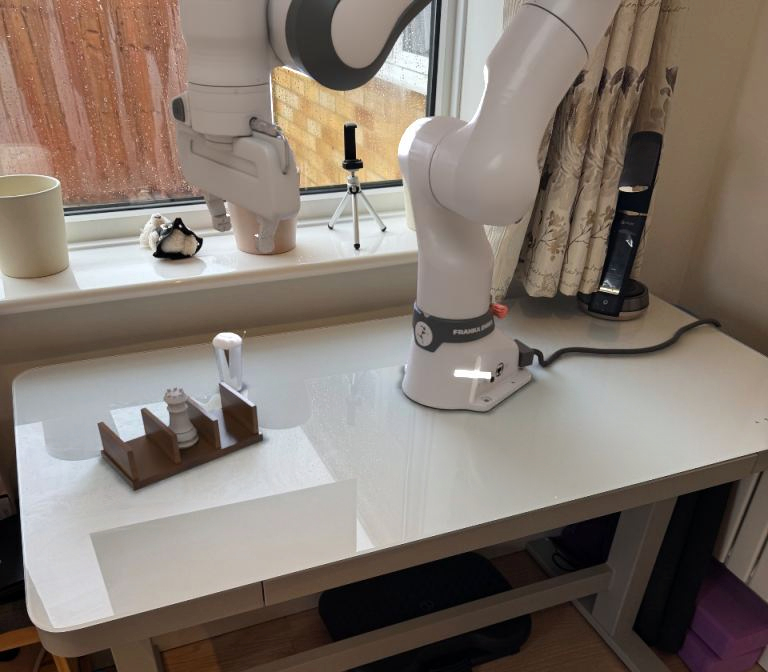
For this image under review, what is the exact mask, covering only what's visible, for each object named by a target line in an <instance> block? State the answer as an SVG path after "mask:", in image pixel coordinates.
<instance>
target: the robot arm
mask: <svg viewBox="0 0 768 672" xmlns="http://www.w3.org/2000/svg"><path fill="white" fill-rule="evenodd" d="M433 1H434V0H177V8H178V19H179V29H180V34H181V37H182V40H183V41H184V44H185V48H186V54H187V55H186V56H187V66H186V72H185V78H186V87H187V90H185V91H183V92H182V93H180V94H178V95H176V96H173V97H171V98H170V99H169V101H168V105H169V113H170V117H171V119H172V120H174V121H175V122H176V124H175V139H176V148H177V154H178V159H179V165H180V170H181V172H182V175H183V177H184V180H185V181H186V183H187V184H188V185H190V186H192V187H195V188H197V189H199V190H201V191H202V192H203V193H202V194H203V199H204V202H205V204H206V206H207V209H208V212H209V214H210V215H211V222H212V223H211V224H212V228H213V230H216V231H217V232H220V233H224V232H230V231H231V229H232V223H231V221H232V220H231V215H230V214H228V213H227V209H226V206H225V202H224V201H226V202H229V203H230V204H233V205H235V206H238V207H239V208H242V209H244V210H247V211H249V212H251V213H254V214H256V215H255V217H256V222H257V223H258V224H259V227H258V231H257V234H254V235H253V241H254V248H255V250H256V251H258V252H260V253H262V254H268V253H273V252H274V250H275V235H276V232H277V230H278V227H279V224H280V221H284V220H289V219H293V218H296V217H297V216H298V214H299V212H300V210H301V193H300V184H299V183H300V182H299V175H298V174H299V173H298V170H297V169H298V168H297V162H296V157H295V154H294V150H293V148H292V146H291V145H290V141H289V139H287V137H286V135H285V134H284V132H283V130H282V127H281V126H280V125H278V124H277V123H274V113H273V112H274V111H273V94H272V77H271V76H272V72H273V70H274V69H275V68H279V67H280V68H281V67H282V68H284V69H287V70H290V71H292V72H293V73H296V74H299V75H302V76H304V77H308V79H311V80H312V81H314V82H316V83H318V84H319V85H320V86H323V87H324V88H326V89H328V90H332V91H336V92H348V91H353V90H356V89H358V88H360V87H362V86H365V85H366V84H367V83H369V82H370V81H371V80H372V79H374V77H375V76H376V75H377V74H378V73H379V71H380V70H381V69H382V67H383V66H384V64H385V63H386V62H387V60H388V58H389V55H390V54H391V52H392V50H393V49H394V46H395V45H396V43H397V41H398V39H399V38H400V37H401V35H402V33H403V32H404V31H405V29H406V28H407V27H408V26H409V25H410V23H411V22H413V20H414V19H415V18H416V17H417V16H419V14H420V13H421V12H422V11H423V10H425V9H426V7H428V6H429V5H430V4H431V3H432V2H433ZM621 2H622V0H523V2H522V4H521V5H520V7H519V8H518V10H517V12H516V13H515V14H514V16H513V17H512V19H511V21H510V22H509V24H508V25H507V27H506V28H505V29H504V31H503V32H502V34H501V36H500V37H499V39H498V40H497V42H496V43H495V45H494V47H493V48H492V49H491V51H490V53H489V54H488V56H487V57H486V60H485V61H484V62H485V63H484V66H483V79H484V83H485V86H484V90H483V94H482V96H481V100H480V103H479V105H478V107H477V110H476V112H475V114H474V116H473V117H472V118H471V120H470V121H466V120H462V119H460V118H458V117H454V116H451V115H433V116H425V117H422V118H419V119H417V120H415V121H414V122H413V123H412V124H410V125H409V126H408V128H406V130H405V132H404V133H403V135H402V137H401V139H400V142H399V145H398V149H397V161H398V163H397V164H398V167H399V170H400V172H401V174H402V176H403V178H404V181H405V184H406V187H407V190H408V194H409V199H410V200H409V201H410V206H411V210H412V216H413V222H414V229H415V235H416V243H417V258H418V262H417V284H416V285H417V287H416V299H415V300H414V303H413V309H412V321H411V322H412V323H411V325H412V333H411V340H410V346H409V352H408V358H407V362H405V363H404V369H403V370H404V376H403V379H402V382H401V389H402V391H403V393H404V394H405V395H406V396H407V397H408V398H409V399H411V400H412V401H414V402H416V403H417V404H420V405H423V406H427V407H430V408H434V409H440V410H469V411H475V412H487V411H490V410H491V409H492V408H494V407H495V406H497V405H498V404H500V403H501V402H503V401H504V400H505V399H507V398H508V397H509V396H511V395H512V394H514V393H515V392H516V391H518V390H519V389H520V388H522V387H524V386H525V385H526V384H527V383H529V382H531V380H532V373H531V372H530V370H529V368H527V367H528V366H529V367H530V366H533V363H534V357H535V356H536V357H537V362H538V364H539V366H541V367H548V366H549V365H551V364H552V363H554V361H555V360H556V359H558V358H559V357H560V356H562V355H564V354H571V353H573V354H574V353H579V354H581V353H582V354H592V355H640V354H641V355H642V354H647V353H653V352H657V351H661V350H664V349H665V348H668V347H670V346H671V345H673V344H674V343H676V342H677V341H678V340H679V339H680V337H681V335H682V334H683V333H685V332H688V331H690V330H692V329H694V328H697V327H700V326H703V325H708V324H711V325H713V326H714V327H715V328H722V327H723V326H722V324H721V322H720V321H719V320H717V319H716V318H712V317H710V318H709V317H707V318H702V319H697V320H696V321H693V322H690V323H688V324H685V325H684V326H681V327H680V328H679V329H677V330H676V331H675V333H674V334H673V336H672V337H671V338H669V339H667V340H665V341H663V342H661V343H657V344H656V345H651V346H645V347H638V348H597V347H586V346H568V347H562V348H560V349H558V350H556V351H554V352H553V353H552V354H551V355H550V356H549V357H548V358H547V359H546V360H545V357H544V353H543V352H542V351H541V349H538V348H533V347H530V346H528V345H526V344H525V343H523V342H522V341H520V340H519V339H518V338H515V339H513V338H512V337H511V336H510V335H508V334H507V333H505V331H503V330H502V329H500V328H499V327H498V325H496V323H495V317H496V318H498V319H499V320H503V319H505V318H506V317H507V315H508V312H509V310H508V307H507V306H506V305H503V304H500V303H498V302H495V303H494V304H491V303H490V302H491V292H492V284H493V276H494V267H495V255H494V250H493V248H492V245H491V243H490V241H489V239H488V235H487V232H486V229H485V226H488V227H489V226H490V227H491V226H492V227H498V228H499V227H507V226H508V227H509V226H511V225H513V224H515V223H517V222H518V221H520V220H521V219H523V217H525V216H526V214H528V212H529V210H531V208H532V206H533V204H534V203H535V200H536V198H537V195H538V193H539V192H538V191H539V187H540V169H539V165H538V159H539V152H540V148H541V144H542V142H543V138H544V135H545V133H546V130H547V127H548V125H549V123H550V121H551V119H552V117H553V115H554V113H555V112H556V110H557V108H558V107H559V105H560V103H562V101H563V99H564V97H565V96H566V94H567V93H568V91H569V90H570V88H571V87H572V85H573V84H574V82H575V81H576V79H577V77H578V76H579V74H580V73H581V72H582V70H583V69H584V67H585V66H586V64H587V63H588V62H589V60H590V58H591V57H592V56H593V54H594V52H595V51H596V50H597V48H598V46H599V44H600V43H601V41H602V39H603V38H604V36H605V34H606V32H607V30H608V29H609V27H610V25H611V23H612V21H613V19H614V17H615V15H616V13H617V11H618V9H619V7H620V5H621Z"/></svg>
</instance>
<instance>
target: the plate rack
mask: <svg viewBox="0 0 768 672" xmlns="http://www.w3.org/2000/svg"><path fill="white" fill-rule="evenodd" d="M218 387H219V396H220V403H221V404H220V405H221V407H220V408H218V409H215V410H212V411H208V410H207V409H205V408H204V407H203V406H202V405H201V404H199V403H197V402H196V400H194V399H193V398H191V396H189V395H188V399H187V400H186V402H185V403H186V404H187V406H188V408H187V414H188V417H189V420H190V422H191V423H192V424H193V426H194V427H195V428H196V430H197V435H198V440H197V442H196V443H195V445H193V446H192V447H190V448H186V449H179V446H178V440H177V434H176V433H175V432H173V431H172V430H171V429H170V428H169V427H168V426H169V425H166V423H164V422H163V421H162V420H161V419H159V418H158V417H157V416H156V415H155V414H154V413H153V412H152V411H151V410H149V409H148V408H147V407H143V408H140V414H141V420H142V425H143V429H144V435H141V436H138V437H135V438H133V439H130V440H127V441H124V440H123V439H122V438H121V437H119V435H118V434H117V433H116V432H114V431H113V430H112V428H110V427H109V426H108V425H107V424H106V423H105V422H104V421H100V422H98V423H96V424H97V428H98V432H99V436H100V440H101V441H100V442H101V445H102V449H101V450H100V454H101V458H102V459H103V461H105V463H107V464H108V465H109V466H110V468H112V470H114V471H115V473H117V475H118V476H119V477H120V478H121V479H122V480H123V481H124V482H125V483H126V484H127V485H128V486H129V487H130V488H131V489H132V490H133V491H137V490H140V489H142V488H146V487H148V486H151V485H153V484H155V483H158V482H160V481H163V480H166V479H168V478H171V477H173V476H176V475H178V474H181V473H184V472H186V471H189V470H192V469H195V468H197V467H200V466H202V465H204V464H207V463H209V462H212V461H214V460H217V459H219V458H222V457H224V456H227V455H230V454H232V453H235V452H238V451H240V450H242V449H245V448H248V447H250V446H252V445H255V444H257V443H261V442H263V441H264V433H263V432H261V431H260V429H259V418H258V408H257V407H258V406H257V404H256V403H254V402H253V401H251V400H250V399H248V398H247V397H246V396H244V395H243V394H241V393H240V392H239V391H238V392H237V391H236V390H234V389H233V388H232V387H230V386H229V385H227V384H226V383H225V382H221V381H220V382H219V383H218Z"/></svg>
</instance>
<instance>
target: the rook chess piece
mask: <svg viewBox="0 0 768 672" xmlns="http://www.w3.org/2000/svg"><path fill="white" fill-rule="evenodd" d="M188 396H189V395H188V394H187V393H186V392H185V390H184V388H183V387H180V386H179V388H178V387H177V386H172V389H171V388H167V389H166V390H165V391H164V396H163V398H162V400H163V401H164V402H165V404H167V406H166V410H167V412H168V415H169V417H168V418H169V419H168V421H169V423H168V425H167V426H168V427H169V428H170V429H171V430H172V431H173V432H175V433H176V434H177V440H178V446H179V449H186V448H190V447H192V446H193V445H195V443H196V442H197V440H198V435H197V430H196V428H195V427H194V426H193V424H192V423H191V422H190V420H189V417H188V414H187V408H188V406H187V404H186V403H185V402H186V400H187V399H188Z"/></svg>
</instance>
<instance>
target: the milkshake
mask: <svg viewBox="0 0 768 672" xmlns="http://www.w3.org/2000/svg"><path fill="white" fill-rule="evenodd" d="M245 335H246V332H244V334H243V335H242V337H241V336H240V335H238V334H236V333H233V332H220V333H218V334H217V335H216V336H214V338H213V339H212V342H211V343H212V348H213V352H214V356H215V360H216V361H215V362H216V364H217V371H218V375H219V380H220V383H221V382H225V383H226V384H227V385H229V386H230V387H232V388H233V389H234V390H236V391H237V392H238V393H239V392H240V391H241V390H243V340H244V338H245Z"/></svg>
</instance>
